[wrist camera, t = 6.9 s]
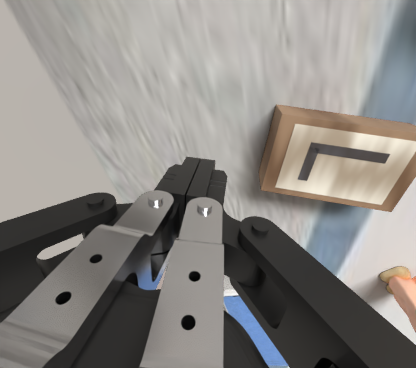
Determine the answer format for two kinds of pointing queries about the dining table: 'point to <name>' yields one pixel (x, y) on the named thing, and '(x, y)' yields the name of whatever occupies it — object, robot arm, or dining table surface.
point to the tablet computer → (252, 328)
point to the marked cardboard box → (338, 158)
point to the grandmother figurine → (402, 290)
